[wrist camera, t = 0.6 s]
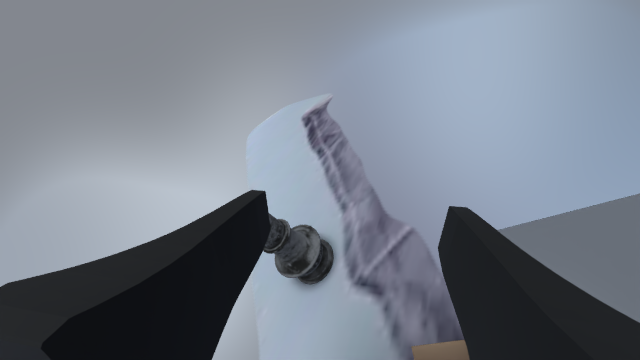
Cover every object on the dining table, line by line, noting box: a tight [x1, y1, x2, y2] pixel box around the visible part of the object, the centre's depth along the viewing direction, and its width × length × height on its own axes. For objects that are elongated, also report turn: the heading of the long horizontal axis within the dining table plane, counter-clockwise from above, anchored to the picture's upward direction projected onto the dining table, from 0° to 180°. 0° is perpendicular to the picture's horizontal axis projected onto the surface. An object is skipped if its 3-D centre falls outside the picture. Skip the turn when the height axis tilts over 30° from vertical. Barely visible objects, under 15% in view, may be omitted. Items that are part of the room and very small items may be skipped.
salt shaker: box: [263, 214, 333, 284], centre depth 26 cm, size 6×6×12 cm
